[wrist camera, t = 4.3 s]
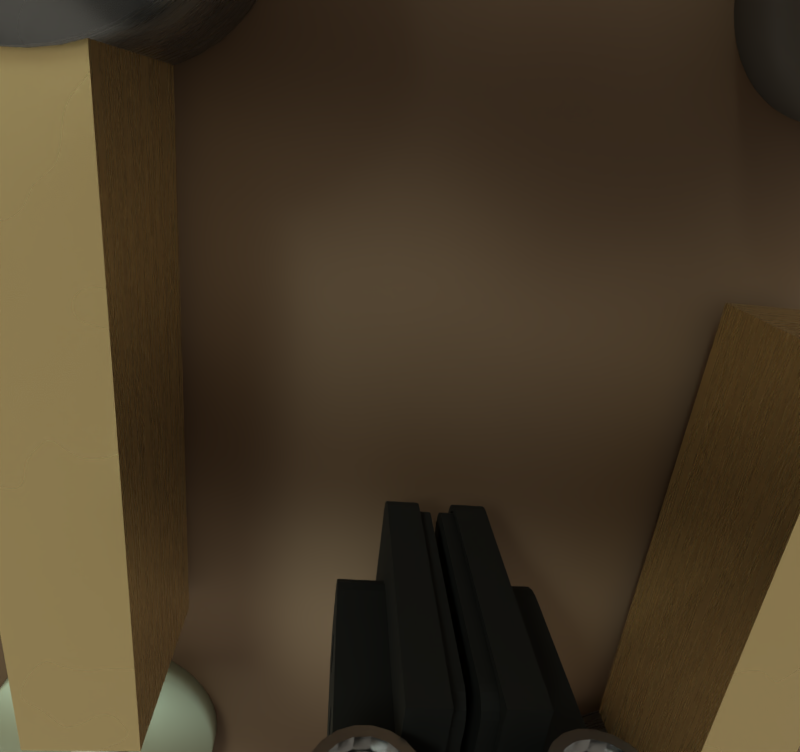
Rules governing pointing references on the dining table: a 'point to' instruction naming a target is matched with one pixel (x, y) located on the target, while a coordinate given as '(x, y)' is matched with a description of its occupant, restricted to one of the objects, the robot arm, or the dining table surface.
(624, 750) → the robot arm
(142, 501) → the ball knob lever
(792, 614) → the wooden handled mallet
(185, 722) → the base plate
